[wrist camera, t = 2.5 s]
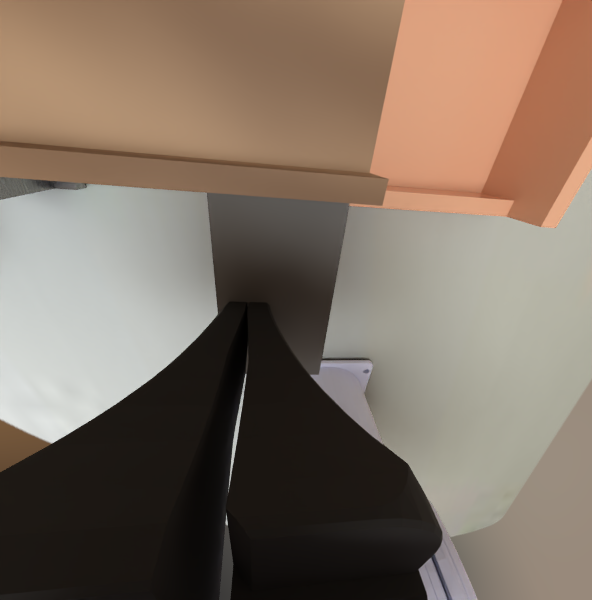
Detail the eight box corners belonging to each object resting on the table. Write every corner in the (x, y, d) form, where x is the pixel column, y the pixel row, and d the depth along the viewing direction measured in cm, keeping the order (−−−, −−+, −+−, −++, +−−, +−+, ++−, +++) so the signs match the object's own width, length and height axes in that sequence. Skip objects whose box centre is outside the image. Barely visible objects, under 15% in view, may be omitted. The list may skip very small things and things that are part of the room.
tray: (480, 205, 16) (555, 228, 12) (325, 194, 15) (348, 214, 11) (584, -36, 11) (780, -148, 7) (361, -82, 10) (432, -253, 6)
